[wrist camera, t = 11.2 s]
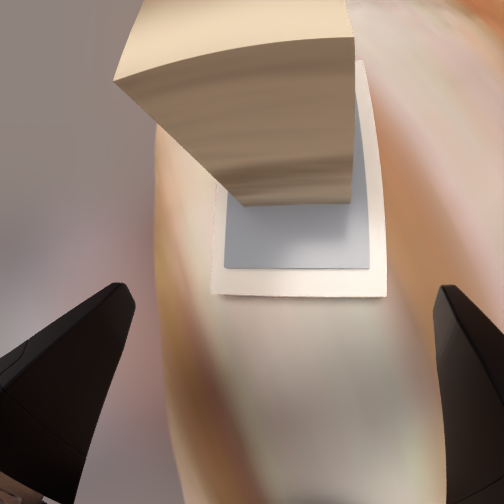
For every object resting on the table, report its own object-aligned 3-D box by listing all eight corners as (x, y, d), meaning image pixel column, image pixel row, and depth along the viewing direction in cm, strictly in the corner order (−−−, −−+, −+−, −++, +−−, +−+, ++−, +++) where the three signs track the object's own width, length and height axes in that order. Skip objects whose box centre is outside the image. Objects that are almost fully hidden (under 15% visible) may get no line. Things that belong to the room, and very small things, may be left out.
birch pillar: (350, 203, 17) (354, 37, 5) (243, 206, 18) (112, 81, 7) (342, 111, 18) (323, -63, 6) (247, 118, 19) (159, -30, 8)
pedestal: (380, 297, 18) (388, 296, 15) (224, 295, 21) (206, 293, 18) (362, 80, 21) (363, 54, 18) (236, 90, 23) (224, 67, 21)
